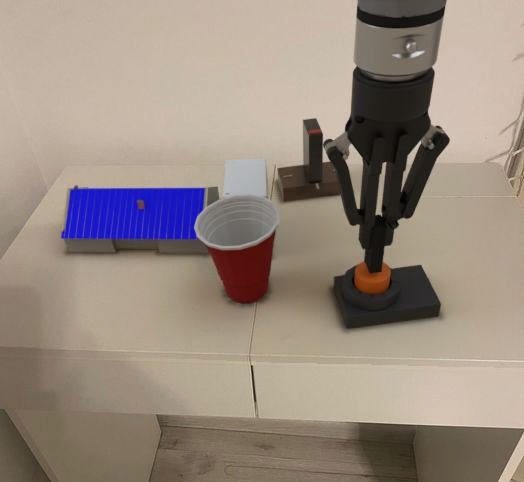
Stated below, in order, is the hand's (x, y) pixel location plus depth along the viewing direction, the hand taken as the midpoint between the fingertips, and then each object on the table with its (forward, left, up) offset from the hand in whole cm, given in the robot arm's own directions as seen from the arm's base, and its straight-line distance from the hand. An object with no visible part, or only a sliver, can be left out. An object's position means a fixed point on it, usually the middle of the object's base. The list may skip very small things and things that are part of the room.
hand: (372, 265), depth 68 cm
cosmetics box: (+14, -18, -7) cm, 24 cm away
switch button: (0, 0, -3) cm, 3 cm away
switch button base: (-2, 0, -7) cm, 7 cm away
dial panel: (+2, -30, -6) cm, 31 cm away
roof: (+30, -24, -7) cm, 39 cm away
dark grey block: (+2, -30, -4) cm, 30 cm away
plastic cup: (+16, -6, -7) cm, 18 cm away
